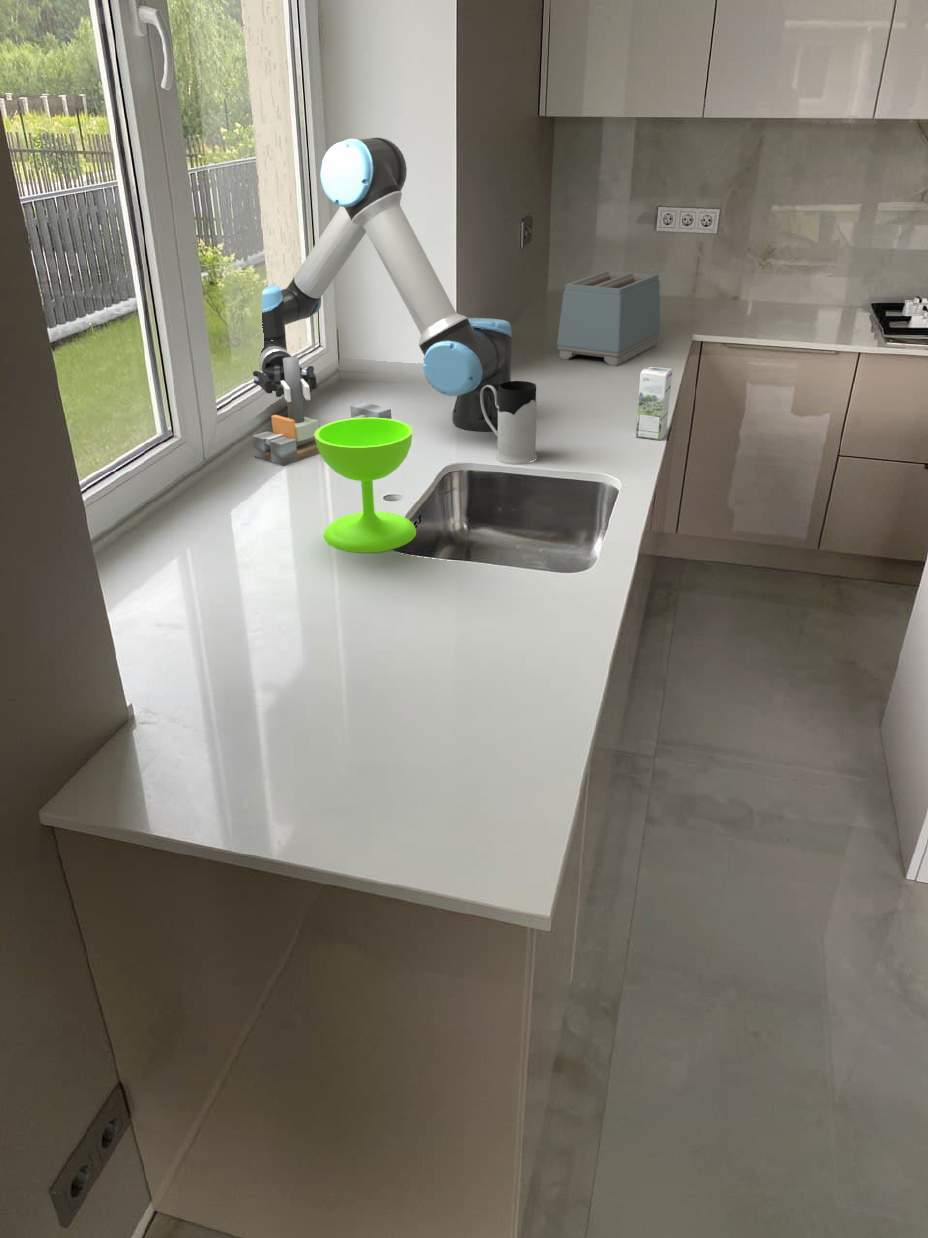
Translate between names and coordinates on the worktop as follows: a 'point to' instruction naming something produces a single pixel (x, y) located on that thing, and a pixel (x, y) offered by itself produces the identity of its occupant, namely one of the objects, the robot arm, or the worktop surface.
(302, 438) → the carriage
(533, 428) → the glass holder
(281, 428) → the orange block
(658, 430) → the syrup box
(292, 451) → the rail base
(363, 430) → the wineglass
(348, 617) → the worktop surface
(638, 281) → the toaster
